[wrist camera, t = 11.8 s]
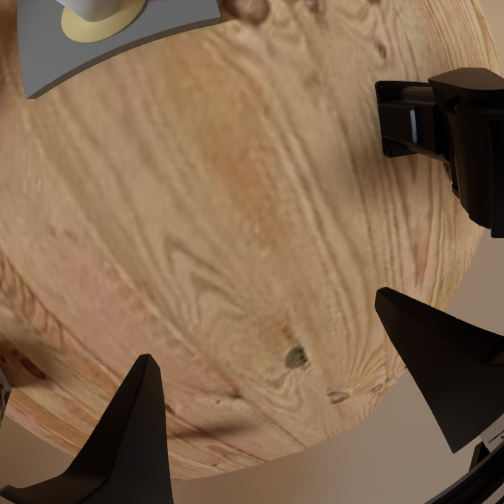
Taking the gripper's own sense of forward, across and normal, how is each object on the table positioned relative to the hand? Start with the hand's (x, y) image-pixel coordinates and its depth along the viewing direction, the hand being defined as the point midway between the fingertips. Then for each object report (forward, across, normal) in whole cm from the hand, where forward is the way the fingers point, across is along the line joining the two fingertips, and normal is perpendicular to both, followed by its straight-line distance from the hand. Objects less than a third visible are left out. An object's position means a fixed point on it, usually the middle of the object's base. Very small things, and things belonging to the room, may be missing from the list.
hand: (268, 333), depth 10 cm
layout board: (+12, +5, -24) cm, 27 cm away
